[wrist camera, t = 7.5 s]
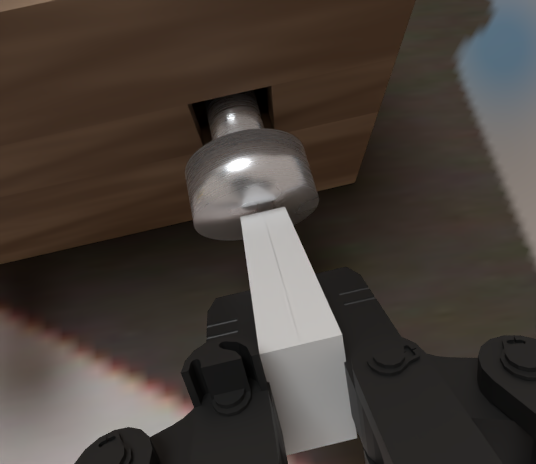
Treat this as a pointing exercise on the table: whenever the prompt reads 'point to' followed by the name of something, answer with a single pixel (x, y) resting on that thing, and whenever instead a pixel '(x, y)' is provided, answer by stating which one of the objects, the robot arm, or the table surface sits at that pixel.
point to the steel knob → (246, 170)
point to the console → (171, 102)
